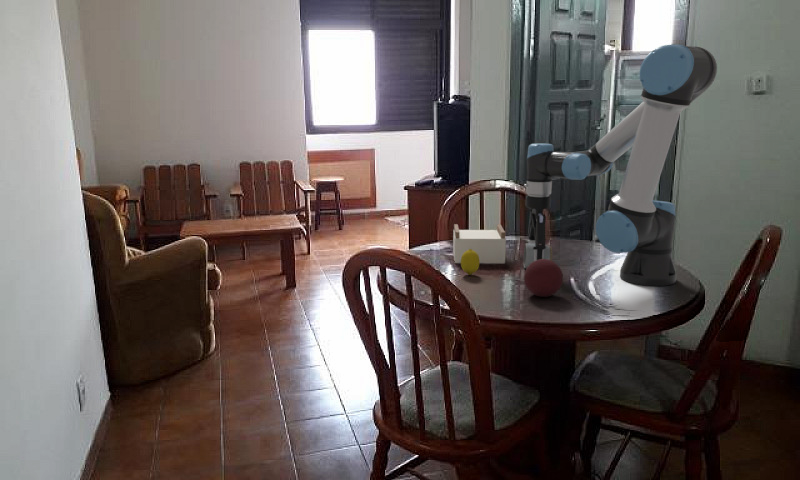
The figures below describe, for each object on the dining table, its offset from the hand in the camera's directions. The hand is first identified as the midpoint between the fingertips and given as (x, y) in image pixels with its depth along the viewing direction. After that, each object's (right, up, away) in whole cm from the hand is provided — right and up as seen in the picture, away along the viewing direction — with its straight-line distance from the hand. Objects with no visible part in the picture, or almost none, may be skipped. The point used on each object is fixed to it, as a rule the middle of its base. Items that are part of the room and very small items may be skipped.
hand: (535, 265), depth 196 cm
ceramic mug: (0, -1, 0) cm, 1 cm away
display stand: (-16, +2, +11) cm, 20 cm away
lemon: (-21, -3, -9) cm, 23 cm away
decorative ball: (-4, -7, -29) cm, 30 cm away
